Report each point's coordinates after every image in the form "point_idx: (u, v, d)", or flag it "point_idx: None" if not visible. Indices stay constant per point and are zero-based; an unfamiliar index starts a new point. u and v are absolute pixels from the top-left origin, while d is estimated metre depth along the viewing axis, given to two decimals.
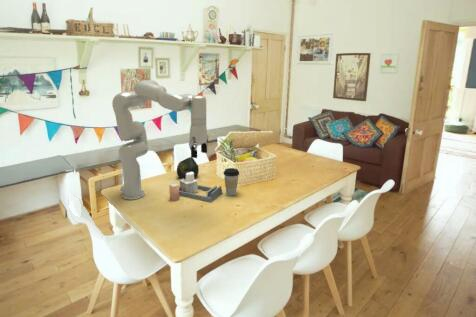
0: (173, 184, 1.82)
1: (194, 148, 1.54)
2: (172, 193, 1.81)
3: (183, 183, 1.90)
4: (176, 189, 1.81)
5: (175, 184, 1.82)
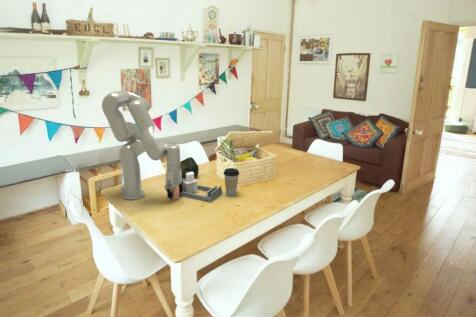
0: None
1: (169, 190, 1.77)
2: None
3: (183, 183, 1.90)
4: (176, 189, 1.81)
5: None
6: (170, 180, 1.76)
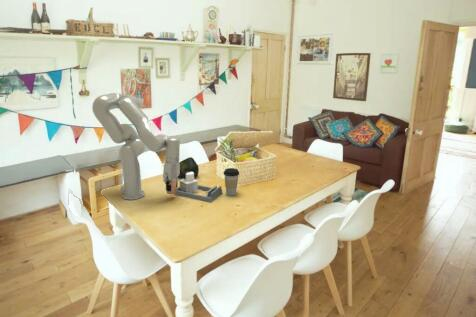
0: None
1: (168, 184, 1.78)
2: None
3: (183, 183, 1.90)
4: (173, 183, 1.80)
5: None
6: (168, 172, 1.75)
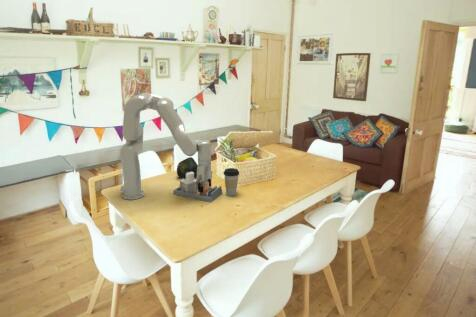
0: None
1: (200, 184, 1.82)
2: None
3: (183, 183, 1.90)
4: (206, 186, 1.87)
5: (205, 181, 1.88)
6: (201, 175, 1.81)
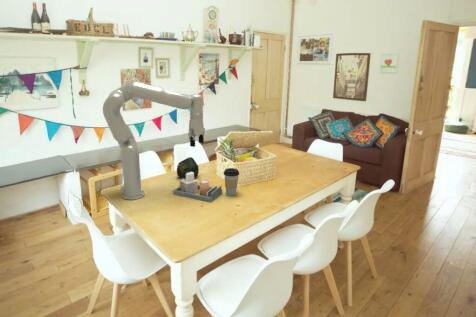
0: (203, 181, 1.88)
1: (192, 138, 1.84)
2: (202, 189, 1.87)
3: (183, 183, 1.90)
4: (206, 186, 1.87)
5: (205, 181, 1.88)
6: (193, 128, 1.84)
